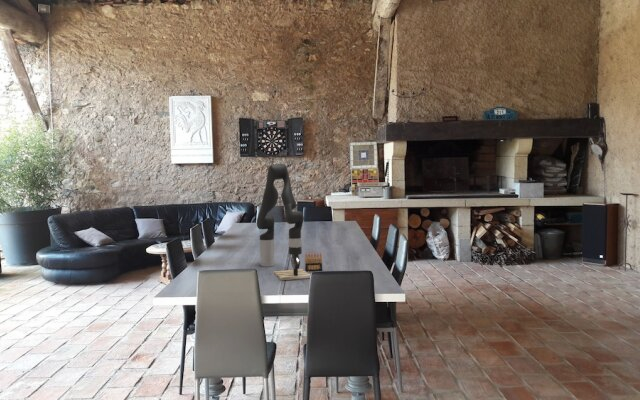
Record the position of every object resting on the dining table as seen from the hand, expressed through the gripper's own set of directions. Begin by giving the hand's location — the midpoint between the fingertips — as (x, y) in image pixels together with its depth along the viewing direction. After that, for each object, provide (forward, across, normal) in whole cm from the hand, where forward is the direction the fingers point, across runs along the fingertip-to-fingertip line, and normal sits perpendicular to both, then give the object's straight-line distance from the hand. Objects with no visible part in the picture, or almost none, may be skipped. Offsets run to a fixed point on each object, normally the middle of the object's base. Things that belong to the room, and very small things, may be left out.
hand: (295, 275), depth 293 cm
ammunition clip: (+2, -15, +16) cm, 22 cm away
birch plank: (+2, -2, 0) cm, 3 cm away
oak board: (+2, -12, 0) cm, 12 cm away
